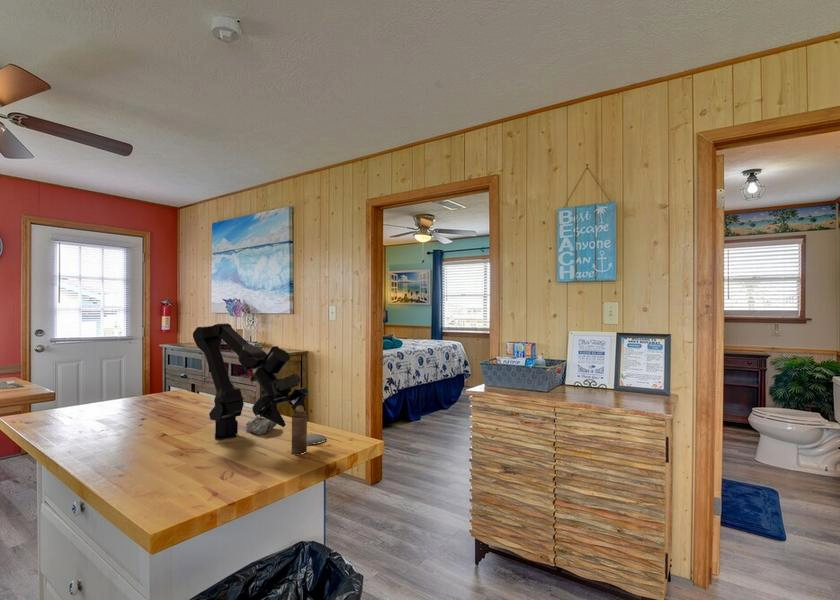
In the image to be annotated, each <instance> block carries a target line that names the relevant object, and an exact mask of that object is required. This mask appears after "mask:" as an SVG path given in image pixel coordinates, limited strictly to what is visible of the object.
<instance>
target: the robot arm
mask: <svg viewBox="0 0 840 600" xmlns="http://www.w3.org/2000/svg"><path fill="white" fill-rule="evenodd" d="M192 338H193V341H194V343H195V345H196V347H197V348H198V349H199V350H200V351H201V352H203V353H204V356H205V359H206V363H207V364H208V368H209V372H210V375H211V378H212V381H213V384H214V387H215V396H214V401H213V402H214V407H212V408H211V410H210V411H209V413H208V415H209V419H210V420H211V421H215V423H214V424H215V425H214V426H215V427H214V439H215V440H221V439H222V440H223V439H231V438H236V437H237V435H238V429H239V428H238V425H239V424H238V420H237V417H240V416H241V415H242V411H243V407H244V404H245V403H244V400H245V399H244V398H245V397H243V395H242V391H241V388H235V387H234V386H233V385H232V382H231V380H230V376H229V373H228V370H227V367H226V364H225V361H224V358H223V354H222V351H221V349H220V348H221V344H222V341H223V342H224V343H225V344H226V345H227V346H228V347H229V348H230V349H231V350H232V351H233V352H234V353H235V354H236V355H237V356H238V362H239V364H240V365H241V366H242V368H243V369H244V370H246V371H251V370H255V371H254V372H251V376H250V379H249V380H250V382H251V383H252V382H257V383H258V385H259V386H260V388H261V390H262V391H261V393H260V394H261V395H262V396H260V397H258V399H257V401H255V403H254V405H253V406H252V412H253V414H254V415H255V416H254V417H256V416H259V417H264V418H266V419H269V420H271V421H273V422H275V423H276V424H277V425H278V426H280V427H281V428H284V427H286V425H287V424H286V422H285V420H284V418H283V416H282V415H281V413H280V411H279V410H278V405H281V404H284V403H288V404H289V405H290V406H291V409H292V410H293V412H295V411H296V407H297V406H299V405H301V406H303V408H304V411H306V415H307V419H308V413H307V408H306V404H305V402H306V401H305V400H306V398H307V397H308V394H310V393H309V391H308V389H307V388H306V387H299V388H295V389H294V387H297V386H299V385H300V383H301V381H302V380H301V377H300V375H298V373H296V372H295V373H292V374H290V375H288V376H285V377H283V378H279V377H278V376H277V374H280V373H281V371H282V370H283V369H284V367H285V366H286V365H287V364H288V363H289V361H290V359H291V356H290V354H289V352H287V351H286V350H284V349H283V348H280V347H279V346H278V345H275V346H274V345H273V346H272V347H271V348H270V350H269V351H268V353H267V352H266V351H264V350H263V349H261V348H260V347H258V346H257V347H256V346H254V345H251V344H250V343H249V342H248V341H247V340H246V339H245V338H243V336H241V335H240V334H239V333H238V332H237V331H236V329H234V328H233V326H232V325H231V324H229V323H217V324H214V325H210V326H197V327H196V328H195V330H194V331H193V332H192ZM292 389H294V390H293V391H292ZM290 393H291V394H290Z"/></svg>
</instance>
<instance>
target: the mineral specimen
mask: <svg viewBox="0 0 840 600" xmlns="http://www.w3.org/2000/svg"><path fill="white" fill-rule="evenodd" d="M277 425H278V424H276V423H275V422H273V421H271V420H269V419H266V418H264V417H260V416H259V415H257V416H254V418H253V419H252V420H251V419H250V420H248V421H247V422H246V423H245V426H246V432H247V433H254V434H256V435H258V434H259V435H263V434H264V433H265V434H267V433H269V431H271V430H272V429H274V428H275V427H276V426H277Z"/></svg>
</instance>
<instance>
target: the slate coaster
mask: <svg viewBox="0 0 840 600" xmlns="http://www.w3.org/2000/svg"><path fill="white" fill-rule="evenodd" d="M325 439H326V440H327V437H326V436H325V435H322V434H316V433H315V434H314V433H313V434H312V433H311V434H307V444H313V443H318V442H322V441H324V440H325Z"/></svg>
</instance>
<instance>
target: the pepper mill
mask: <svg viewBox="0 0 840 600" xmlns="http://www.w3.org/2000/svg"><path fill="white" fill-rule="evenodd" d="M306 413H307V410H306V411H304V408H303V406H301V405H299V406H297V407H296V411H292V416H291V454H292V453H293V454H301V453H304V452H306V451H308V450H307V449H308V448H307V447H308V445H307V435H308V418H307V417H308V414H307V415H306ZM293 454H292V455H293Z"/></svg>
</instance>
